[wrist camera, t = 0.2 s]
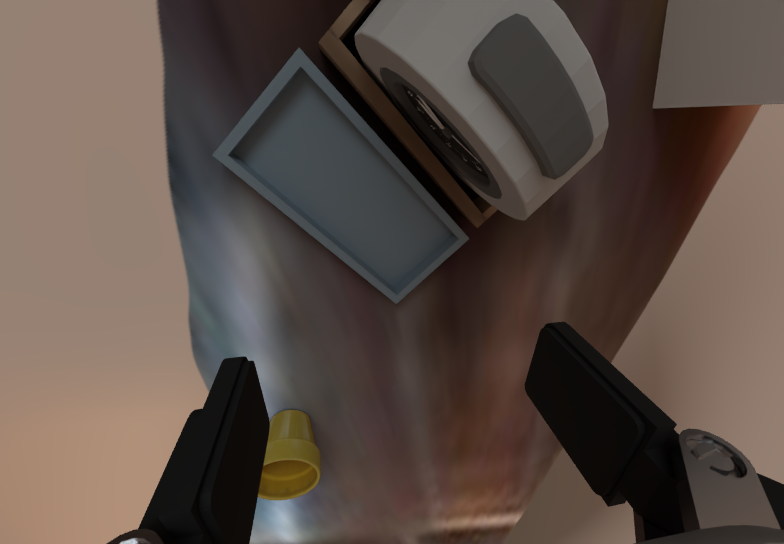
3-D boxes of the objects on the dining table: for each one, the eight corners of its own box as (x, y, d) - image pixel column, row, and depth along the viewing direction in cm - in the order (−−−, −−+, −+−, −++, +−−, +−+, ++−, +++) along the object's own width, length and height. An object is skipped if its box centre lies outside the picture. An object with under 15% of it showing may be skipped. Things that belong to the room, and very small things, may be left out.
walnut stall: (410, -62, 28) (421, -85, 25) (539, 149, 40) (559, 153, 36) (319, 49, 31) (318, 41, 27) (465, 217, 42) (477, 228, 39)
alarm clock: (347, 51, 31) (371, -14, 14) (400, -15, 30) (497, -180, 13) (472, 194, 41) (578, 259, 24) (517, 150, 39) (666, 185, 22)
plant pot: (325, 436, 57) (324, 493, 49) (266, 446, 56) (255, 507, 47) (317, 396, 53) (315, 452, 44) (252, 406, 51) (237, 467, 43)
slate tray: (301, 52, 31) (299, 47, 28) (460, 230, 43) (469, 238, 40) (221, 151, 34) (212, 155, 31) (392, 292, 46) (396, 304, 43)
